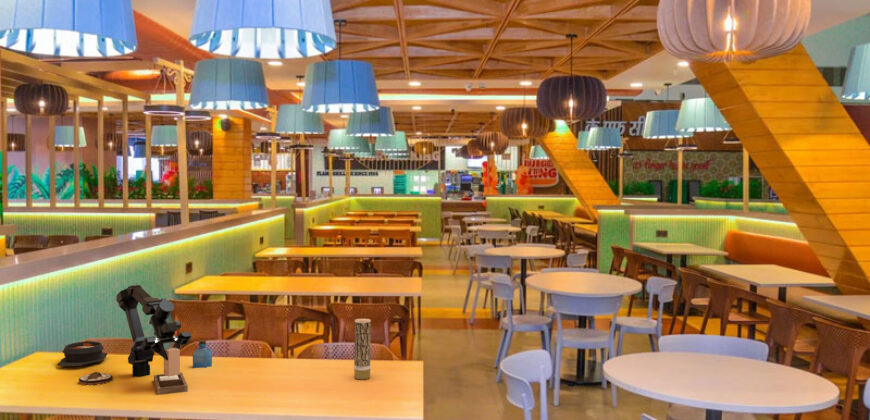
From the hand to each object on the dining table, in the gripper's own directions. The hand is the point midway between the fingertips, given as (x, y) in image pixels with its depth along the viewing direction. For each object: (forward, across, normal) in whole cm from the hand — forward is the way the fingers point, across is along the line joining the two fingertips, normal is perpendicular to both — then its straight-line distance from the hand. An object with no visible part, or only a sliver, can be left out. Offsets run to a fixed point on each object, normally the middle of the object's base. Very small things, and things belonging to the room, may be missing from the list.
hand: (173, 358), depth 279 cm
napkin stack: (+1, +3, +16) cm, 17 cm away
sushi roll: (-15, -16, +36) cm, 42 cm away
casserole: (-40, -9, +60) cm, 72 cm away
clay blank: (+4, 0, +6) cm, 7 cm away
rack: (+5, +2, +14) cm, 15 cm away
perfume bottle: (-9, +26, +29) cm, 40 cm away
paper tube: (+34, +67, -16) cm, 77 cm away
